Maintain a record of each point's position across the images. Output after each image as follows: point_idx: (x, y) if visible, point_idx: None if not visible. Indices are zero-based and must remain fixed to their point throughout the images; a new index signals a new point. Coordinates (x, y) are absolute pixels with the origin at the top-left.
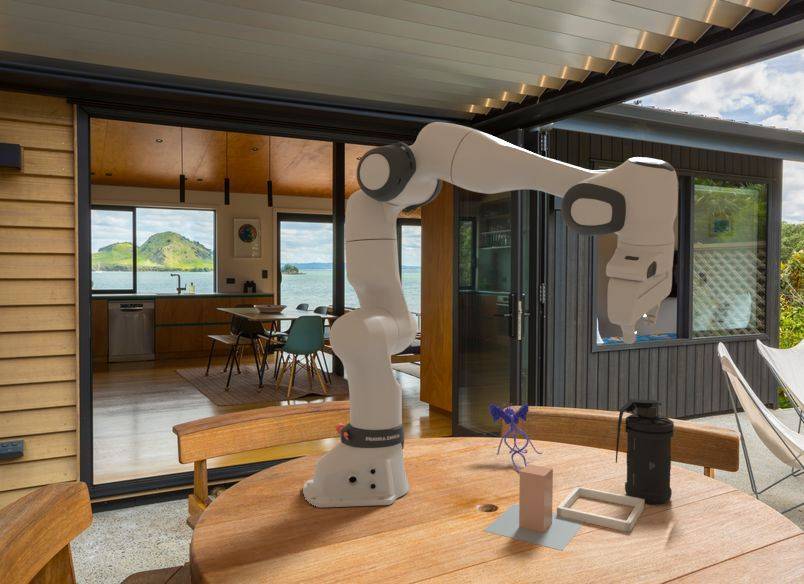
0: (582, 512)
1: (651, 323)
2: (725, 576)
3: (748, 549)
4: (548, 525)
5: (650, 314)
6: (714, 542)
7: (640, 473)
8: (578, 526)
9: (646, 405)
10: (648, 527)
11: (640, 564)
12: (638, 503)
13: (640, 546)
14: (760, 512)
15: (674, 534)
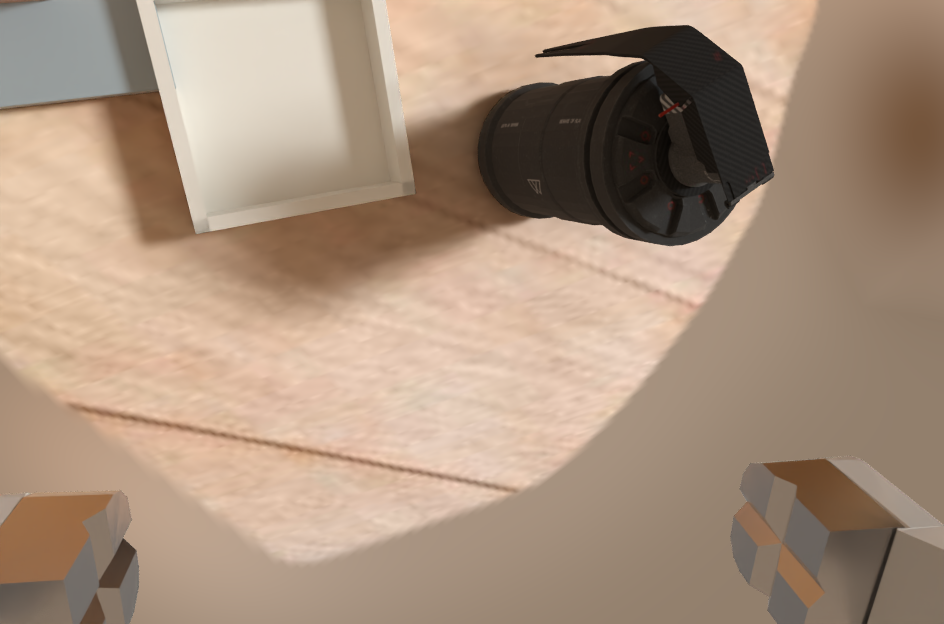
0: (160, 76)
1: (751, 561)
2: (173, 476)
3: (366, 455)
4: (2, 1)
5: (891, 594)
6: (350, 389)
7: (515, 149)
8: (104, 87)
9: (703, 151)
10: (323, 233)
11: (62, 310)
12: (370, 192)
13: (179, 265)
14: (596, 397)
15: (327, 302)
